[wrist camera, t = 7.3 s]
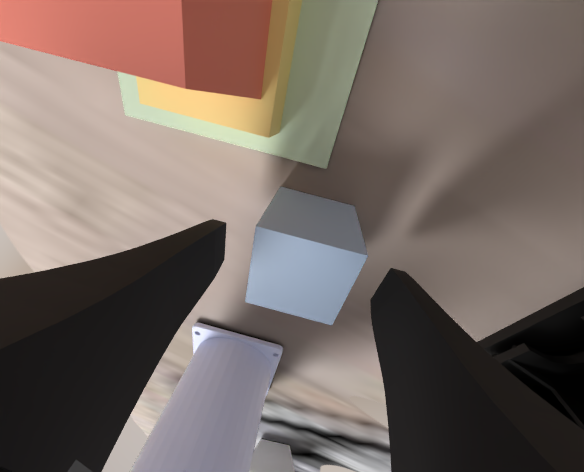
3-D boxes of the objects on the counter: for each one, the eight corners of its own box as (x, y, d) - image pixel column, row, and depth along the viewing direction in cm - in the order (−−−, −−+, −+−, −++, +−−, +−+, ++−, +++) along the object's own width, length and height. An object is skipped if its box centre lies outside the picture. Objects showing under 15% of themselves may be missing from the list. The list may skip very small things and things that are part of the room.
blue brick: (330, 263, 13) (331, 325, 9) (269, 246, 13) (244, 302, 9) (354, 205, 11) (368, 255, 7) (280, 186, 11) (255, 226, 7)
